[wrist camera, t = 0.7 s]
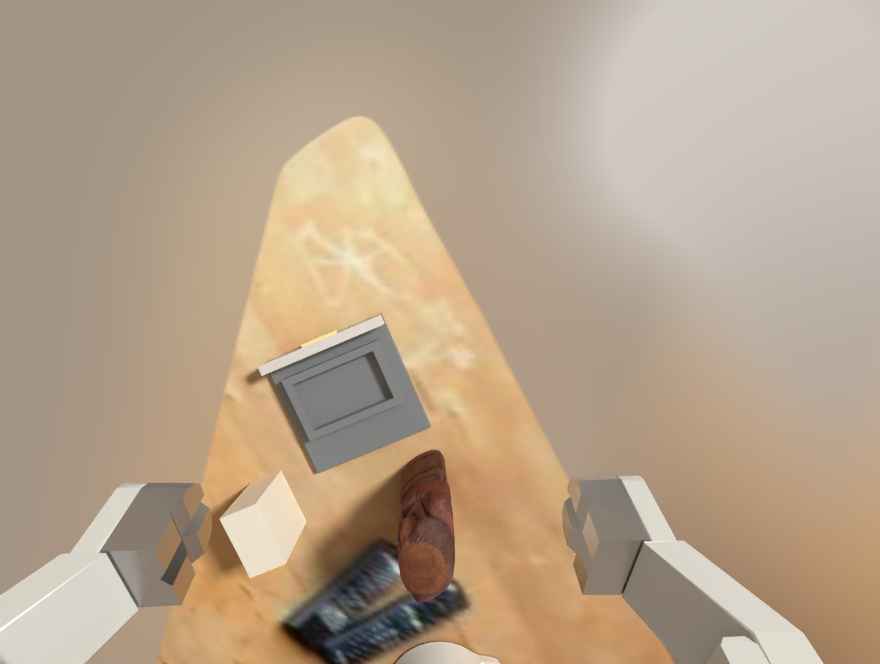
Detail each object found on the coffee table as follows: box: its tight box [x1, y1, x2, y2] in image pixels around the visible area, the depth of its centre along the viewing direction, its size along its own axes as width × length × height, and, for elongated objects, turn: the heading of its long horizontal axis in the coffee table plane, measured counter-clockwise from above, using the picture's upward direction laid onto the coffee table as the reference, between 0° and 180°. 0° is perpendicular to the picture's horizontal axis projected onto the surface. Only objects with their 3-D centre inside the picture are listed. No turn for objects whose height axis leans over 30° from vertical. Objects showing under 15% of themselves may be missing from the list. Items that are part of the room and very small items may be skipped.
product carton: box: [220, 471, 306, 578], centre depth 57 cm, size 5×8×9 cm, turn 23°
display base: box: [258, 314, 430, 473], centre depth 58 cm, size 16×16×4 cm
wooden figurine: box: [398, 450, 455, 602], centre depth 53 cm, size 12×6×18 cm, turn 2°
